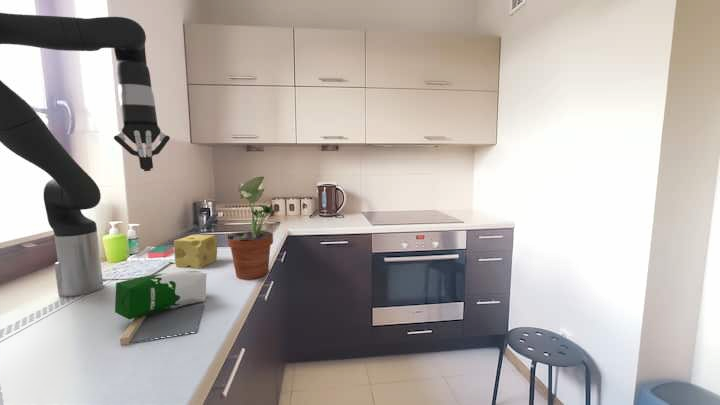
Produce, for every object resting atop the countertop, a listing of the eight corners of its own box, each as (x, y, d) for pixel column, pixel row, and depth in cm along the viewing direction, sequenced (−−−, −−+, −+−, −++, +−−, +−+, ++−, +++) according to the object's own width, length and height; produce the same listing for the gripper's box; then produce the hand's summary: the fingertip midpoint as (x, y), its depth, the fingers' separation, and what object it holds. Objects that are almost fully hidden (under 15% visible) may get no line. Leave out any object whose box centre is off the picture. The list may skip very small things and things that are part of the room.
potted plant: (286, 271, 109) (282, 168, 105) (249, 285, 97) (243, 169, 92) (256, 263, 118) (252, 168, 113) (219, 275, 105) (211, 169, 101)
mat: (120, 345, 65) (119, 338, 65) (141, 314, 78) (141, 309, 78) (196, 332, 70) (195, 326, 70) (204, 306, 83) (203, 300, 83)
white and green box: (112, 315, 75) (195, 295, 92) (130, 325, 70) (214, 302, 87) (114, 278, 74) (196, 264, 91) (132, 285, 70) (215, 269, 87)
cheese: (199, 269, 112) (197, 241, 111) (173, 267, 114) (171, 240, 113) (218, 260, 122) (216, 234, 121) (194, 258, 124) (192, 233, 123)
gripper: (105, 101, 76) (117, 173, 80) (169, 104, 84) (177, 170, 88) (106, 104, 82) (116, 171, 85) (165, 107, 90) (173, 168, 93)
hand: (147, 170), depth 87 cm, fingers closed
